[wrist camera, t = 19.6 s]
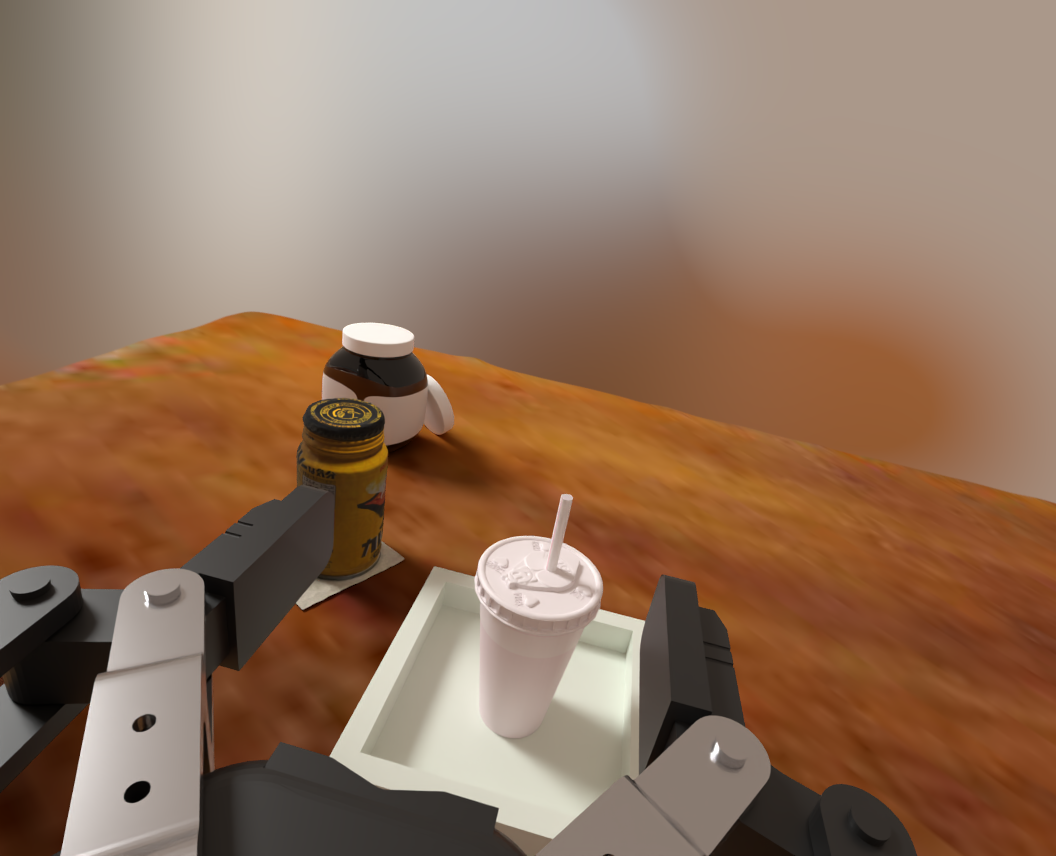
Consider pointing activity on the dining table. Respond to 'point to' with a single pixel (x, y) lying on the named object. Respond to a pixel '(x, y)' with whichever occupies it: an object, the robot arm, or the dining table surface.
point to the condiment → (347, 489)
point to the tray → (464, 739)
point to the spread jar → (387, 381)
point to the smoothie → (530, 623)
